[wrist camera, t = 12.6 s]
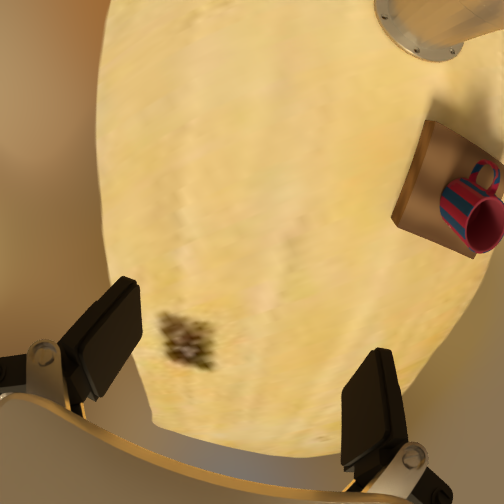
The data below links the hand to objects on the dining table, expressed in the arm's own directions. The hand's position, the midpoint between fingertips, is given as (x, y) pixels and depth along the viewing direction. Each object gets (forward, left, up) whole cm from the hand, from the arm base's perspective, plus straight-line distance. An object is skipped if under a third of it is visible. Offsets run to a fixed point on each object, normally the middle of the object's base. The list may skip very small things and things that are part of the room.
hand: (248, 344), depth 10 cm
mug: (-7, +21, -24) cm, 33 cm away
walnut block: (-6, +21, -28) cm, 36 cm away
